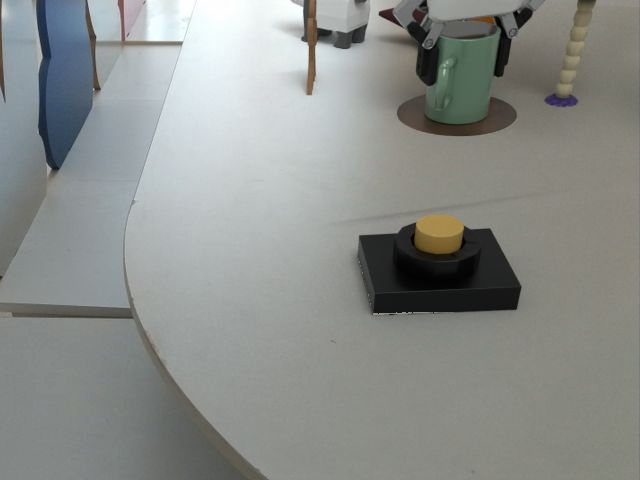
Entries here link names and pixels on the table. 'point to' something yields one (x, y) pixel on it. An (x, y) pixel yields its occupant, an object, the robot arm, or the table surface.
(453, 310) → the block
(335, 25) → the giant panda
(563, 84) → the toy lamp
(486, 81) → the mug
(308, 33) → the gingerbread man figurine
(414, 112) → the disc
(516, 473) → the table surface
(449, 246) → the bell button
